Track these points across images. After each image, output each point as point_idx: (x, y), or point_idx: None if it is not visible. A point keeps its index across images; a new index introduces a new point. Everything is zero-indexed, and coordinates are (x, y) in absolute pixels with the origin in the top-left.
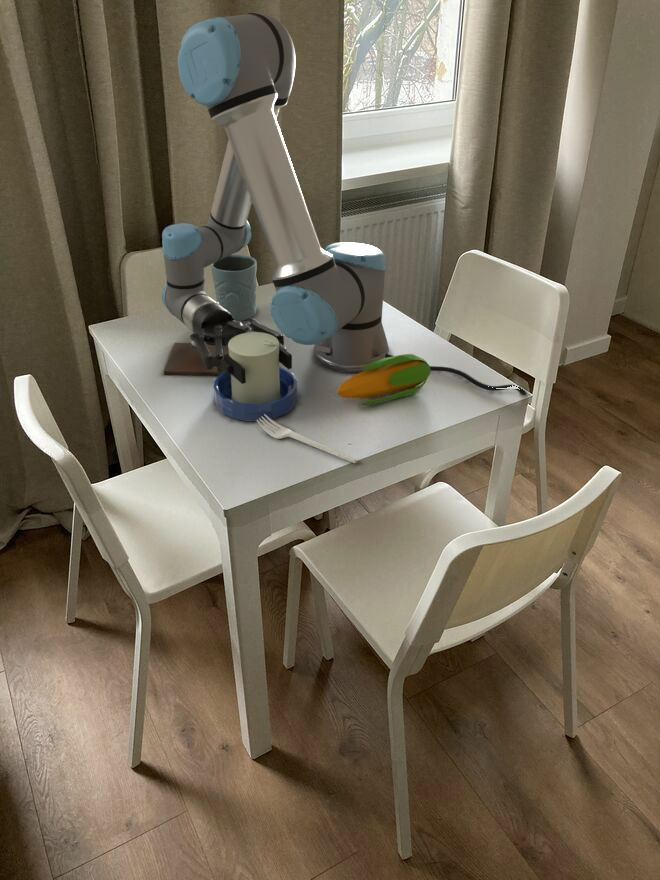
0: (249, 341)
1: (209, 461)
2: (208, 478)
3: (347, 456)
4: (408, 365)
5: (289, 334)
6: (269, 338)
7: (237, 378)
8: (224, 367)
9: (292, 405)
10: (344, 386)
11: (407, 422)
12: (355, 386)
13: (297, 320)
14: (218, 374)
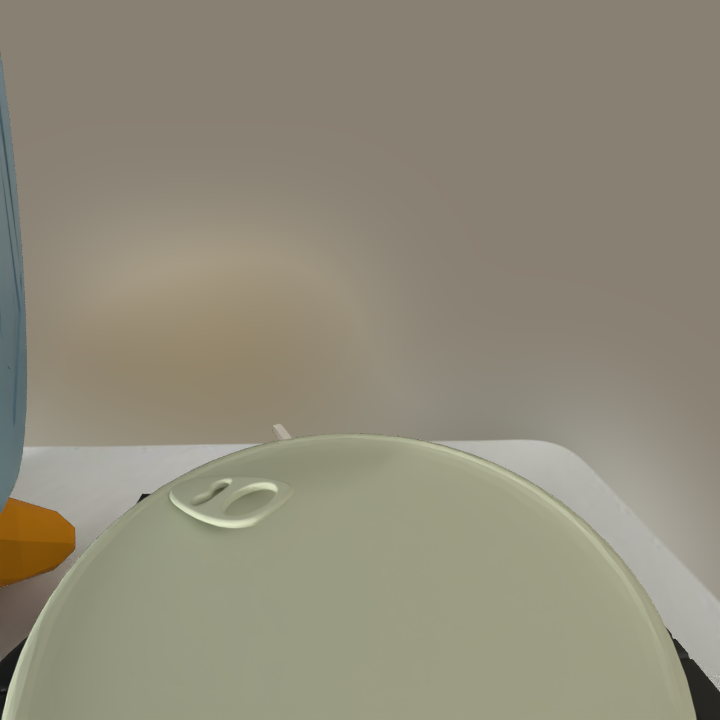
0: (370, 647)
1: (623, 546)
2: (614, 498)
3: (282, 431)
4: None
5: (15, 450)
6: (120, 603)
7: None
8: None
9: None
10: (43, 518)
11: (38, 478)
12: (20, 501)
13: (6, 252)
14: None
